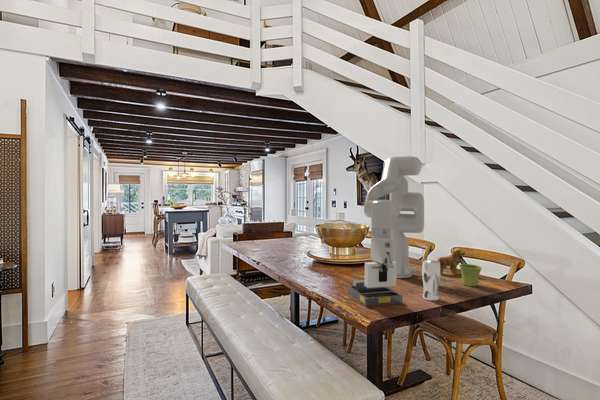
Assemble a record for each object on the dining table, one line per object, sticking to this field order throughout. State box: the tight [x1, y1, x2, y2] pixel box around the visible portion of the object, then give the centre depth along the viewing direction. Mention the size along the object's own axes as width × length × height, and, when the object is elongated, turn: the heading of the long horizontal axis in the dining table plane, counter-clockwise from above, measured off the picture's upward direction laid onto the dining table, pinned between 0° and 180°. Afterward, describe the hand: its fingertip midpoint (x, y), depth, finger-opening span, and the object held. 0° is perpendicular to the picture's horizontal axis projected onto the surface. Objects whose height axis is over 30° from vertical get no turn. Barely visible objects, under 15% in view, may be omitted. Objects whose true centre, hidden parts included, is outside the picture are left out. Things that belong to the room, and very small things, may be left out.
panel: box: [363, 261, 397, 288], centre depth 126 cm, size 12×3×9 cm, turn 105°
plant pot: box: [458, 263, 483, 288], centre depth 151 cm, size 9×9×9 cm
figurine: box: [436, 248, 466, 276], centre depth 172 cm, size 15×6×13 cm, turn 94°
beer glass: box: [421, 259, 441, 302], centre depth 132 cm, size 7×7×15 cm
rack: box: [347, 279, 403, 308], centre depth 132 cm, size 15×17×6 cm
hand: (380, 279), depth 126 cm, fingers closed on panel, 3 cm apart
